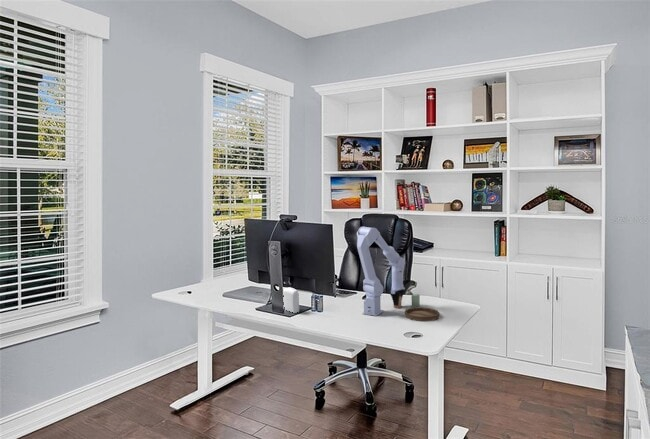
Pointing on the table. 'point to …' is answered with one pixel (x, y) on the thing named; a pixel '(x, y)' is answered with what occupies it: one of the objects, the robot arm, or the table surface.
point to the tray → (421, 314)
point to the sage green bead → (415, 300)
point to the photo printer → (291, 299)
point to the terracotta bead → (399, 303)
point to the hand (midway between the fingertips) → (397, 304)
